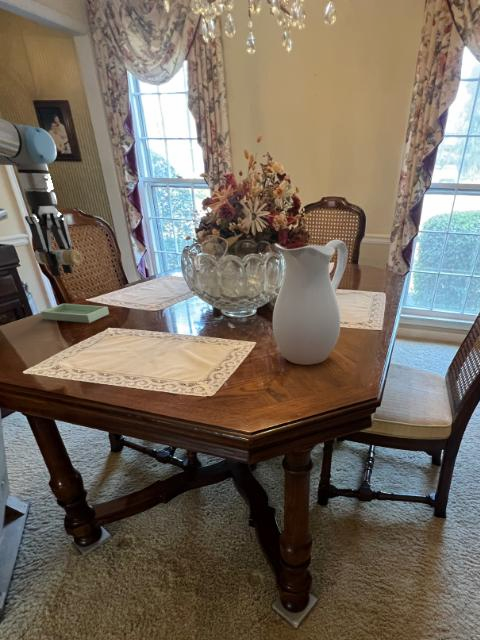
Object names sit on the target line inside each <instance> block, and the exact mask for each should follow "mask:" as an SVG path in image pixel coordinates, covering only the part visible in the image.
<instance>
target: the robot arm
mask: <svg viewBox="0 0 480 640" xmlns="http://www.w3.org/2000/svg"><path fill="white" fill-rule="evenodd" d="M57 152H58V151H57V145H56V143H55V141H54V138H53V137H52V136H51V134H49V132H48V131H47V130H45V129H44V128H41V127H37V126H32V125H26V124H17V123H15V122H12V121H9V120H6V119H4V118H1V117H0V166H15V167H16V170H17V173H18V177H19V180H20V183H21V186H22V189H23V190H25V191H24V196H25V200H26V204H27V205H28V206H29V207H30V208H31V214H30V215H25V216H24V219H25V221H26V223H27V225H28V227H29V230H30V233H31V236H32V239H33V242H34V246H35V248H36V250H37V251H38V252H41V253H42V254H45V257H46V260H47V264H46V265H48V266H49V269H50V273H51V276H52V277H61V276H62V272H61V269H60V266H59V265H60V264H58V261H57V258H56V254H52V253H53V252H52V250H53V245H52V238H51V232H52V236H53V238H54V240H55V242H56V245H57V247H58V250H72V249H73V244H72V240H71V239H72V238H71V235H70V231H69V227H68V224H67V215H66V214H65V213H61V212H59V210H57V206H58V200H57V196H56V193H55V192H54V191H52V190H54V186H53V183H52V180H51V176H50V171H49V168H48V164H52V163H53V162H54V161H55V160H56V159H57V155H58V153H57ZM61 267H62V270H63V273H64V274H73V273H74V270H73V268H72V265H63V264H61Z"/></svg>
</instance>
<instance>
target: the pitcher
mask: <svg viewBox="0 0 480 640" xmlns="http://www.w3.org/2000/svg"><path fill="white" fill-rule="evenodd" d="M274 246H275V248H276V250H278V251H279V252H280V253H279V254H280V255H281V256H282V257H283V259H284V264H285V269H284V277H283V279H282V283H281V285H280V288H279V291H278V294H277V297H276V300H275V304H274V306H273V307H274V308H273V312H272V331H273V336H274V341H275V343H276V347H277V348H278V350H279V351H280V353H281V354H282V356H283V357H284V358H285V360H286V361H288V362H290V363H292V364H296V365H303V366H308V365H309V366H310V365H317V364H320V363H322V362H325V361H326V360H327V359H328V357H329V356H330V355H331V354H332V352H333V350H334V349H335V347H336V345H337V342H338V339H339V337H340V331H341V324H342V323H341V320H342V318H341V309H340V305H339V301H338V297H337V294H336V292H337V290H338V287H339V285H340V282H341V280H342V278H343V275H344V273H345V270H346V267H347V262H348V257H349V251H348V245H347V244H346V243H345V242H344V241H343V240H340V239H333V240H330V241H328V242H327V243H326V244H325V245H319V244H318V245H317V244H310V245H306V246H302V247H298V248H297V247H296V248H284V247H282V246H280V245H279V244H278V243H274ZM336 250H337V262H336V268H335V271H334V275H333V277H332V278H331V275H330V262H331V260H332V258H333V257H334V255H335V253H336Z"/></svg>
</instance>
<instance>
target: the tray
mask: <svg viewBox="0 0 480 640" xmlns="http://www.w3.org/2000/svg"><path fill="white" fill-rule="evenodd" d="M40 315H41V317H42V320H50V321H60V322H61V321H62V322H63V321H64V322H73V323H74V322H75V323H86V324H90V323H93V322H95V321H96V320H99V319H101V318H103V317H106V316H109V315H110V311H109V307H108V306H102V305H88V304H75V303H61V304H58V305H55V306H52V307H49V308H47V309H44V310H41V311H40Z"/></svg>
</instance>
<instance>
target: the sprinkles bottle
mask: <svg viewBox="0 0 480 640" xmlns="http://www.w3.org/2000/svg"><path fill="white" fill-rule="evenodd" d="M52 252H53V253H52V254H56V258H57V261H58V265H62V264H63V265H71V266H80V265H81V264H82V261H83V257H82V253H80V252H79V250H77V249H71V250H60V249H52ZM34 258H35V261H36V262H37V263H39V264H40V265H48V264H47V260H46V257H45V254H42V253H41V252H38V251H37V249H36V250H35V252H34Z"/></svg>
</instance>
